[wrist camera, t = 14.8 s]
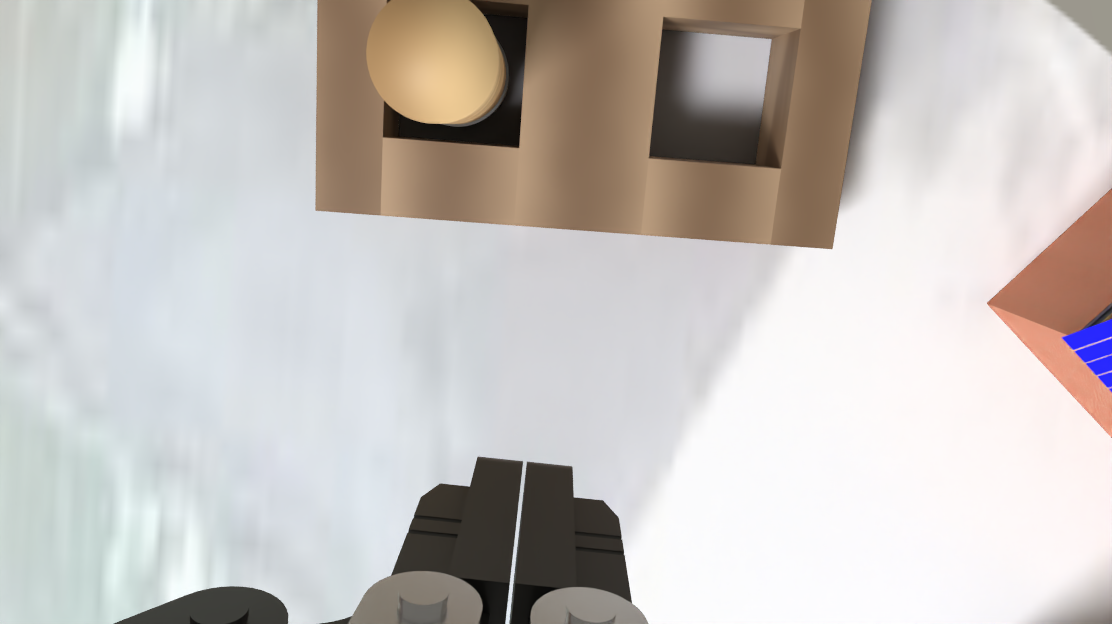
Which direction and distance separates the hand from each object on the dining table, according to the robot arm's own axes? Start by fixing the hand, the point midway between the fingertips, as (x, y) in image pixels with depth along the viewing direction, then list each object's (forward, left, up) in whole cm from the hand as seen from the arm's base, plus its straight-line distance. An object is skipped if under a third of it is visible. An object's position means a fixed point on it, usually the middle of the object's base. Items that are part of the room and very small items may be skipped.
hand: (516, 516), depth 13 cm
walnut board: (-2, -8, -26) cm, 27 cm away
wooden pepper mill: (+3, -8, -26) cm, 28 cm away
